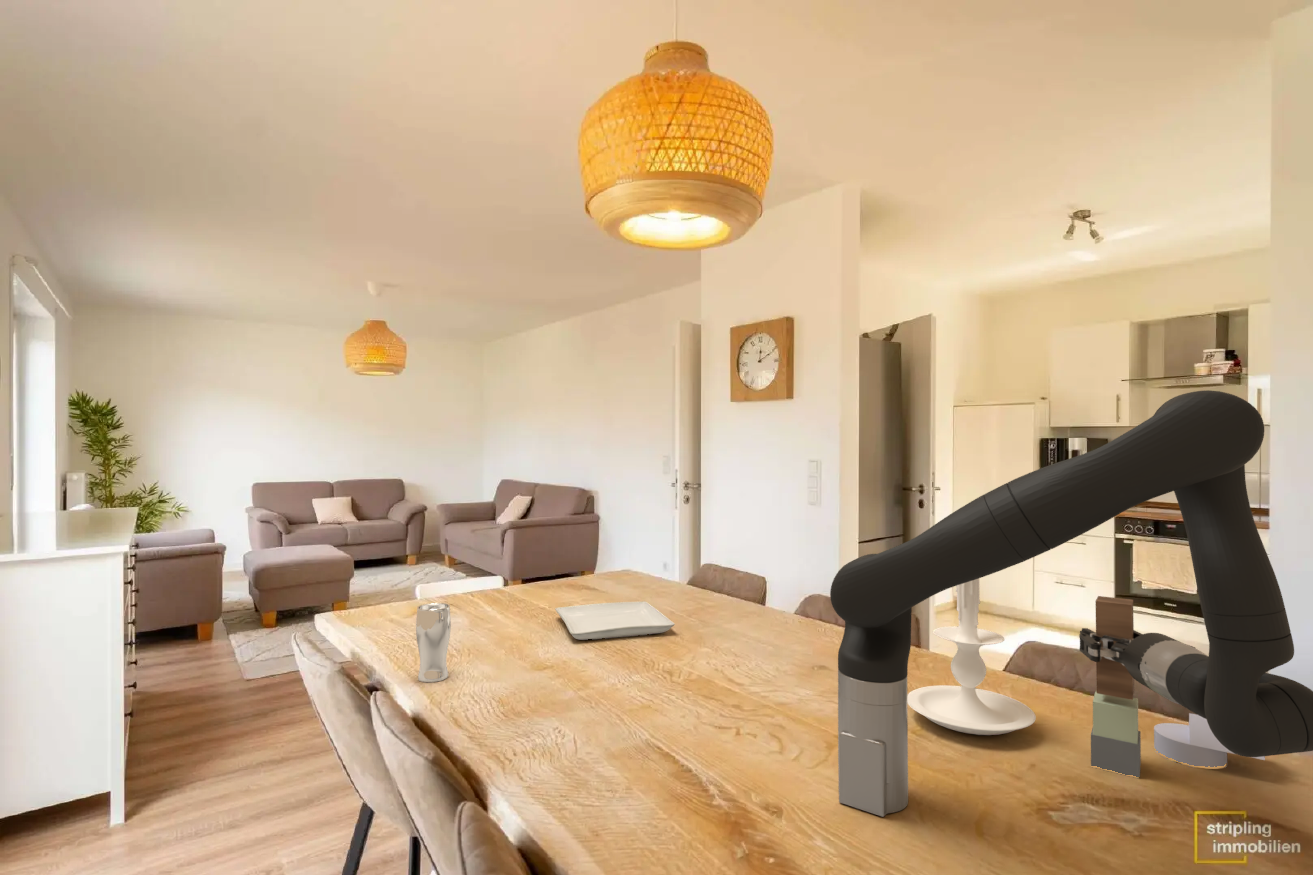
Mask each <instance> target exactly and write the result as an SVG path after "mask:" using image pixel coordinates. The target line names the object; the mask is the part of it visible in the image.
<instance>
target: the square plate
mask: <svg viewBox="0 0 1313 875" xmlns="http://www.w3.org/2000/svg"><path fill="white" fill-rule="evenodd" d="M554 609H555V612H556V613H557V614H558V615H559V617H560V618H561V619H562V621H563V622H564V623H565V625H566V628H567V631H568V632H569V634H571V636H572V637H573V638H574V639H576V640H581V641H586V640H587V641H588V639H592V640H602V638H605V639H614V638H616V639H617V638H625V637H626V638H627V637H636V636H638V635H640V636H648V635H647V634H649V635H654V634H655V635H656V634H662V633H666V632H667V631H669V630H670V629H672V627H674V626H675V625H676V624H675V622H674V621H672V620H671V619H670V618H668V617H667V616H666V615H664V614H663V613H662V612H661V611H659V610H658V609H657V608H656V607H655V606H653V605H651V604H650V603H649V602H647V601H645V600H644V601H622V602H621V601H619V602H618V601H617V602H602V603H599V602H598V603H591V604H589V603H587V604H581V605H580V604H579V605H571V606H561V607H555V608H554ZM638 637H639V636H638Z"/></svg>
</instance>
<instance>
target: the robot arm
mask: <svg viewBox="0 0 1313 875" xmlns="http://www.w3.org/2000/svg"><path fill="white" fill-rule="evenodd" d="M1264 437H1265V423H1264V420H1263V418H1262V415H1261V414H1260V412H1259V411H1258V410H1257V408H1256V407H1255V406H1254V405H1252V404H1251V403H1250V402H1249V401H1247V400H1246V399H1244V398H1242V397H1239V396H1238V395H1235V394H1232V393H1228V392H1224V391H1220V390H1198V391H1192V392H1190V391H1189V392H1186V393H1183V394H1179V395H1176V396H1174V397H1171V398H1170V399H1169V400H1166V401H1165V402H1164V403H1163V404H1161V405H1160V407H1158V409H1156V411H1155V413H1154V414H1153V415H1152V416H1151V417H1149V418H1147V419H1146V420H1144V421H1143V422H1141V423H1140V424H1138V425H1136V426H1135V427H1133V428H1131V429H1130V430H1127V431H1126V432H1125V433H1123V434H1121V435H1120V436H1117V437H1116V438H1114V439H1112V440H1111V441H1108V442H1107V443H1106V444H1103V445H1101V446H1100V447H1098V448H1095V449H1092V450H1090V451H1088V452H1085V453H1083V454H1079V455H1076V456H1073V457H1071V458H1067V459H1064V460H1061V461H1058V462H1055V463H1053V464H1049V465H1046V466H1044V467H1043V466H1042V467H1041V468H1039V469H1035V470H1033V471H1030V472H1028V473H1026V474H1023V475H1022V476H1019V477H1017V478H1014V479H1012V480H1009V481H1007V482H1006V483H1003V484H1002V485H1000V486H998V487H996V488H994V489H992V490H990V491H988V492H986V493H984V494H982V495H980V496H978V497H976V498H975V499H973V500H971V501H970V502H968V503H966V504H965V505H963V506H961V507H960V508H958V509H956V510H955V511H953V512H952V513H950V514H949V515H947V516H945V517H944V518H942V519H941V520H939V521H937V522H936V523H935V524H933V525H932V526H931V527H930V528H928V529H926V530H925V531H923V532H922V533H920V534H919V535H917V536H916V537H913V538H911V539H910V540H908V541H905V542H903V543H901V544H899V545H896V546H894V547H892V548H889V549H886V550H883V551H882V552H879V553H869V554H868V553H867V554H864V555H862V556H859V557H857V558H854V559H853V560H851V561H849V562H847V563H846V564H844V565H843V566H842V567H841V568H840V569H838V571H837V573H835V576H834V578H833V580H832V582H831V585H830V586H831V587H830V589H829V590H830V592H829V594H830V603H831V607H832V608H833V611H834V612H835V613H836V615H837V616H838V617H840V618H841V620H843V621H844V631H843V636H842V639H841V642H840V645H839V649H838V652H837V653H838V654H837V711H838V712H837V719H838V720H837V726H838V727H837V730H838V732H837V736H838V737H837V744H838V746H837V748H838V750H837V751H838V752H837V753H838V754H837V755H838V758H837V759H838V760H837V763H838V775H837V776H838V802H839V803H841V804H844V805H846V806H850V807H852V808H855V809H857V810H862V811H864V812H867V813H869V814H870V813H871V814H873V815H877V816H879V817H885V816H886V815H887V814H891V813H897V812H900V811H902V810H903V809H905V808H906V807H907V806H908V804H909V758H908V757H909V755H908V754H909V752H908V751H909V750H908V749H909V743H908V741H909V740H908V738H909V734H908V729H909V728H908V727H909V726H908V724H909V723H908V720H909V719H908V718H909V717H908V703H907V695H908V669H909V668H908V665H909V658H910V653H911V646H912V613H913V612H912V611H913V610H912V607H914V606H916V605H918V604H920V603H922V602H924V601H925V600H927V599H929V598H931V597H933V596H935V595H936V594H939V593H941V592H943V591H945V590H948V589H951V588H954V587H956V586H957V585H960V584H963V583H966V582H969V581H972V580H976V579H979V580H980V579H981V578H984V577H987V576H990V575H993V574H995V573H997V572H1001V571H1003V570H1006V569H1008V568H1011V567H1013V566H1017V565H1019V564H1022V563H1023V562H1026V561H1028V560H1031V559H1033V558H1035V557H1037V556H1040V555H1042V554H1044V553H1047V552H1049V551H1051V550H1053V549H1055V548H1057V547H1059V546H1061V545H1063V544H1065V543H1067V542H1069V541H1071V540H1073V539H1075V538H1077V537H1079V536H1082V535H1084V534H1085V533H1087V532H1089V531H1091V530H1094V529H1095V528H1097V527H1099V526H1101V525H1102V524H1104V523H1106V522H1108V521H1109V520H1111V519H1113V518H1115V517H1116V516H1118V515H1120V514H1121V513H1124V512H1125V511H1128V510H1129V509H1131V508H1133V507H1136V506H1138V505H1139V504H1142V503H1145V502H1146V501H1149V500H1153V499H1154V498H1158V497H1160V496H1163V495H1166V494H1168V493H1172V492H1174V495H1175V498H1176V501H1177V504H1178V506H1179V510H1180V513H1181V517H1182V521H1183V525H1184V528H1185V532H1186V536H1187V541H1188V546H1189V551H1190V557H1191V562H1192V568H1193V572H1194V573H1193V574H1194V577H1195V582H1196V589H1197V593H1198V597H1199V603H1200V604H1199V605H1200V608H1201V613H1202V616H1203V621H1204V626H1205V631H1206V635H1207V638H1208V644H1209V645H1208V646H1209V647H1208V655H1207V654H1206V653H1204V652H1202V651H1201V650H1199V649H1198V648H1196V647H1195V646H1193V645H1190V644H1186V643H1184V642H1181V641H1180V640H1177V639H1175V638H1174V637H1173V638H1172V637H1170V636H1168V635H1166V634H1163V633H1159V632H1147V633H1141V632H1138V630H1137V631H1136V630H1135V629H1134V639H1133V638H1123V637H1119V636H1115V635H1112V634H1110V635H1104V636H1103V635H1100V634H1097V633H1096V631H1094V630H1092V629H1090V628H1088V627H1087V628H1086V627H1085V628H1084V627H1082V628H1081V630H1079V635H1078V636H1079V652H1080V653H1082V654H1083V655H1084V656H1085V657H1086V658H1087V659H1089V660H1090V661H1092V662H1093V663H1096V662H1100V659H1101V657H1105V658H1107V659H1110V660H1113V661H1116V662H1119V663H1121V664H1122V665H1124V666H1125V667H1126V669H1127V670H1128V672H1129V673H1130V675H1131V676H1132V677H1133V678H1134V681H1136V682H1138V683H1139V684H1141V685H1143V686H1144V687H1146V688H1148V689H1149V690H1150V691H1153V692H1154V693H1156V694H1158V695H1159V696H1161V697H1163V698H1165V699H1167V700H1168V701H1170V702H1172V703H1174V704H1177V705H1179V706H1180V705H1181V706H1182V707H1183V708H1185V709H1187V710H1189V711H1190V712H1192V713H1193V714H1196V715H1199V716H1201V717H1203V718H1205V719H1207V722H1208V725H1209V727H1210V729H1211V731H1212V733H1213V734H1214V736H1215V737H1216V738H1217V740H1218V741H1219V742H1220V743H1221V744H1222V745H1223V746H1224V747H1226V748H1227V749H1228V750H1229V751H1231V752H1233V753H1235V754H1234V755H1237V756H1240V757H1245V758H1252V757H1263V756H1265V757H1269V756H1279V755H1288V754H1296V753H1297V754H1298V753H1308V752H1313V690H1312V689H1311V688H1310V687H1307V686H1306V685H1304V684H1302V683H1301V682H1298V681H1296V680H1293V679H1290V678H1288V677H1285V676H1282V675H1277V674H1273V673H1269V672H1270V671H1271V670H1273V669H1276V668H1279V667H1281V666H1283V665H1285V664H1288V663H1289V662H1290V661H1292V659H1293V658H1294V656H1295V645H1294V639H1293V636H1292V631H1291V628H1290V623H1289V619H1288V614H1287V610H1286V606H1285V602H1284V599H1283V594H1282V591H1281V588H1280V585H1279V582H1278V579H1277V576H1276V573H1275V571H1274V568H1273V566H1272V564H1271V561H1270V557H1269V556H1268V553H1267V550H1266V549H1265V546H1264V543H1263V540H1262V538H1261V536H1260V533H1259V529H1258V528H1257V525H1256V522H1255V519H1254V518H1255V517H1254V515H1253V512H1252V509H1251V503H1250V501H1249V495H1248V489H1247V482H1246V464H1247V463H1249V462H1250V461H1251V460H1252V459H1253V458H1254V457H1255V455H1257V453H1258V451H1259V450H1260V449H1261V447H1262V444H1263V441H1264ZM1100 640H1102V641H1103V647H1101V642H1100ZM1114 641H1116V643H1115V644H1114ZM1233 753H1232V754H1233Z"/></svg>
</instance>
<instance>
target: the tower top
mask: <svg viewBox="0 0 1313 875" xmlns="http://www.w3.org/2000/svg"><path fill="white" fill-rule="evenodd" d="M1092 728H1093V735H1097V736H1102V737H1106V738H1111V739H1116V740H1120V741H1125V742H1130V743H1134V744H1138V731H1139V698H1135V697H1133V700H1130V699H1125V698H1120V697H1114V696H1109V695H1103V694H1098V693H1097V690H1095V692H1094V695H1093V699H1092Z"/></svg>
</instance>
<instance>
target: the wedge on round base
mask: <svg viewBox="0 0 1313 875" xmlns="http://www.w3.org/2000/svg"><path fill="white" fill-rule="evenodd" d="M1153 736H1154V737H1153V742H1154V743H1153V744H1154V745H1153V747H1154V748H1155V749H1156V751H1158V753H1161V754H1163V755H1165V756H1166V757H1168V758H1172V759H1174V760H1176V761H1178V762H1183V763H1187V764H1189V765H1194V766H1205V767H1208V766H1210V767H1214V766H1215V767H1217V766H1224V765H1225V764H1226V763H1227V764H1228V754H1233V755H1236V754H1235V753H1233V752H1231V751H1229V750H1228V749H1227V748H1226V747H1224V746H1223V745H1222V744H1221V743H1220V742H1219V741H1218V740H1217V738H1216V737H1215V736H1214V734H1213V733H1212V731H1211V729H1210V727H1209V725H1208V722H1207V719H1205V718H1203V717H1201V716H1199V715H1197V714H1196V713H1190V712H1189V713H1188V724H1182V723H1173V722H1163V723H1162V722H1161V723H1158V724H1155V725H1154V726H1153ZM1154 748H1153V749H1154ZM1156 751H1155V752H1156ZM1158 753H1157V754H1158ZM1265 757H1266V756H1263V757H1251V758H1253V759H1257V760H1261V761H1262V760H1263V761H1266V758H1265Z"/></svg>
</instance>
